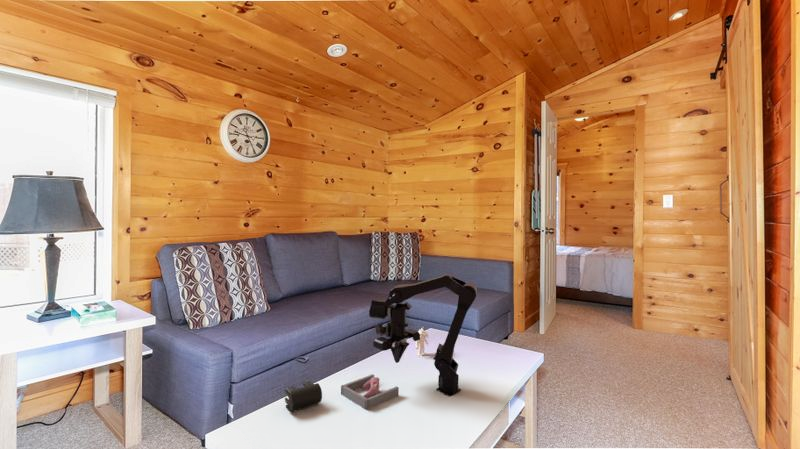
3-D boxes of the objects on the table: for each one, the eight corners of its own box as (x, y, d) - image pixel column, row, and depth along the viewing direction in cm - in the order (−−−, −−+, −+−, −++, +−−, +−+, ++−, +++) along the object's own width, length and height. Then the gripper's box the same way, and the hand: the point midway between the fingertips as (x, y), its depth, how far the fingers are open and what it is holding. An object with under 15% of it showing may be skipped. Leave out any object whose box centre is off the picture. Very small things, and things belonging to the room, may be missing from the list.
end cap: (292, 417, 117) (292, 395, 117) (283, 407, 123) (283, 386, 122) (322, 407, 123) (322, 386, 123) (312, 398, 129) (312, 378, 129)
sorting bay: (398, 395, 131) (398, 387, 131) (366, 410, 122) (366, 400, 122) (372, 382, 142) (372, 374, 141) (340, 394, 132) (341, 385, 132)
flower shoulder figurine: (423, 350, 175) (424, 324, 174) (430, 352, 172) (431, 326, 172) (411, 356, 168) (412, 329, 167) (418, 358, 165) (419, 330, 165)
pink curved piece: (372, 407, 127) (382, 388, 127) (360, 401, 126) (370, 382, 126) (373, 393, 136) (382, 375, 136) (361, 387, 136) (370, 370, 136)
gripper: (400, 311, 152) (400, 350, 153) (364, 320, 139) (363, 362, 140) (421, 317, 144) (420, 358, 145) (384, 327, 131) (383, 372, 132)
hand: (396, 362), depth 140 cm, fingers closed
